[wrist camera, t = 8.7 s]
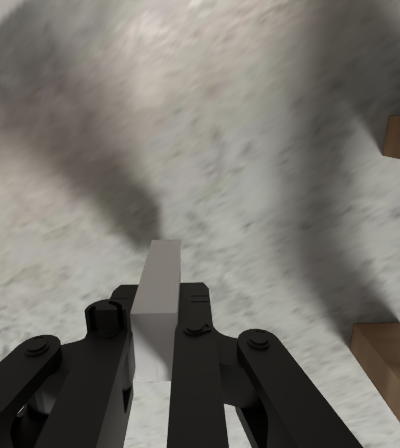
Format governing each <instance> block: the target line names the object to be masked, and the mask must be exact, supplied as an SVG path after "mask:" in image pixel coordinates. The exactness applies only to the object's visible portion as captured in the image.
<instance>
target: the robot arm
mask: <svg viewBox="0 0 400 448" xmlns="http://www.w3.org/2000/svg"><path fill="white" fill-rule="evenodd" d="M85 318H86V325H87V334H86V336H85V338H84V339H82V340H79V341H76V342H72V343H68V344H64V345H61V342H60V340H59V339H58V338H57V337H56V336H53V335H40V336H35V337H33V338H30V339H28V340H26V341H24V342H23V343H21V344H20V345H18V346H17V347H16V348H15V349H14V350H13V351H12V352H11V353H10V354H9V355H7V356H6V357H5V358H4V359H3V360H2V361H1V362H0V448H123V445H124V440H125V435H126V430H127V425H128V420H129V415H130V410H131V404H132V399H133V377H134V373H135V380H136V382H151V381H171V394H170V408H169V422H168V437H167V448H229V444H228V436H227V427H226V419H225V410H224V404H228V405H232V406H235V409H236V413H237V415H238V417H239V420H240V422H241V424H242V426H243V429H244V431H245V433H246V435H247V438H248V440H249V442H250V444H251V447H252V448H363V447H362V445H361V444H360V443H359V442H358V440H357V439H356V438H355V436H354V435H353V434H352V433H351V431H350V430H349V429H348V427H347V426H346V425H345V424H344V422H343V421H342V420H341V418H340V417H339V416H338V415H337V413H336V412H335V411H334V409H333V408H332V407H331V406H330V404H329V403H328V402H327V400H326V399H325V398H324V397H323V395H322V394H321V393H320V392H319V390H318V389H317V388H316V386H315V385H314V384H313V383H312V381H311V380H310V379H309V377H308V376H307V375H306V374H305V372H304V371H303V370H302V368H301V367H300V366H299V365H298V363H297V362H296V361H295V359H294V358H293V357H292V356H291V354H290V353H289V352H288V350H287V349H286V348H285V347H284V345H283V344H282V343H281V341H280V340H279V339H278V338H277V337H276V336H275V335H274V334H273V333H270V332H268V331H266V330H261V329H249V330H246V331H243V332H242V333H241V334H240V335H239V337H238V339H237V338H232V337H228V336H225V335H223V334H221V333H219V332H218V331H217V330H216V329H215V328H214V326H213V323H212V314H211V305H210V297H209V288H208V287H207V286H206V285H205V284H204V283H203V282H201V283H182V243H181V240H152V242H151V245H150V248H149V252H148V255H147V259H146V262H145V265H144V269H143V272H142V275H141V279H140V282H139V285H120V286H119V287H118V288H116V289H115V290H114V291H113V293H112V295H111V298H110V299H105V300H100V301H97V302H94V303H93V304H91V305H89V306H88V307H87V308H86V309H85ZM23 406H24V407H23ZM22 407H23V409H22ZM21 409H22V410H21ZM20 410H21V411H20ZM19 411H20V412H19ZM18 412H19V413H18ZM17 413H18V414H17Z"/></svg>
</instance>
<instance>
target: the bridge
mask: <svg viewBox="0 0 400 448" xmlns="http://www.w3.org/2000/svg"><path fill="white" fill-rule="evenodd" d="M383 156H387V157H392V158H397V159H400V116H389V121H388V127H387V133H386V139H385V144H384V150H383ZM350 351H351V352H352V354H353V355H354V357H355V358H356V360H357V361H358V363H359V364H360V365H361V367H362V368H363V370H364V371H365V373H366V374H367V376H368V377H369V379H370V380H371V381H372V383H373V384H374V386H375V387H376V389H377V390H378V392H379V393H380V395H381V396H382V397H383V399H384V400H385V402H386V403H387V405H388V406H389V408H390V409H391V411H392V412H393V413H394V415H395V416H396V418H397V419H398V421H399V422H400V323H361V324H354V328H353V334H352V339H351V345H350Z"/></svg>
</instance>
